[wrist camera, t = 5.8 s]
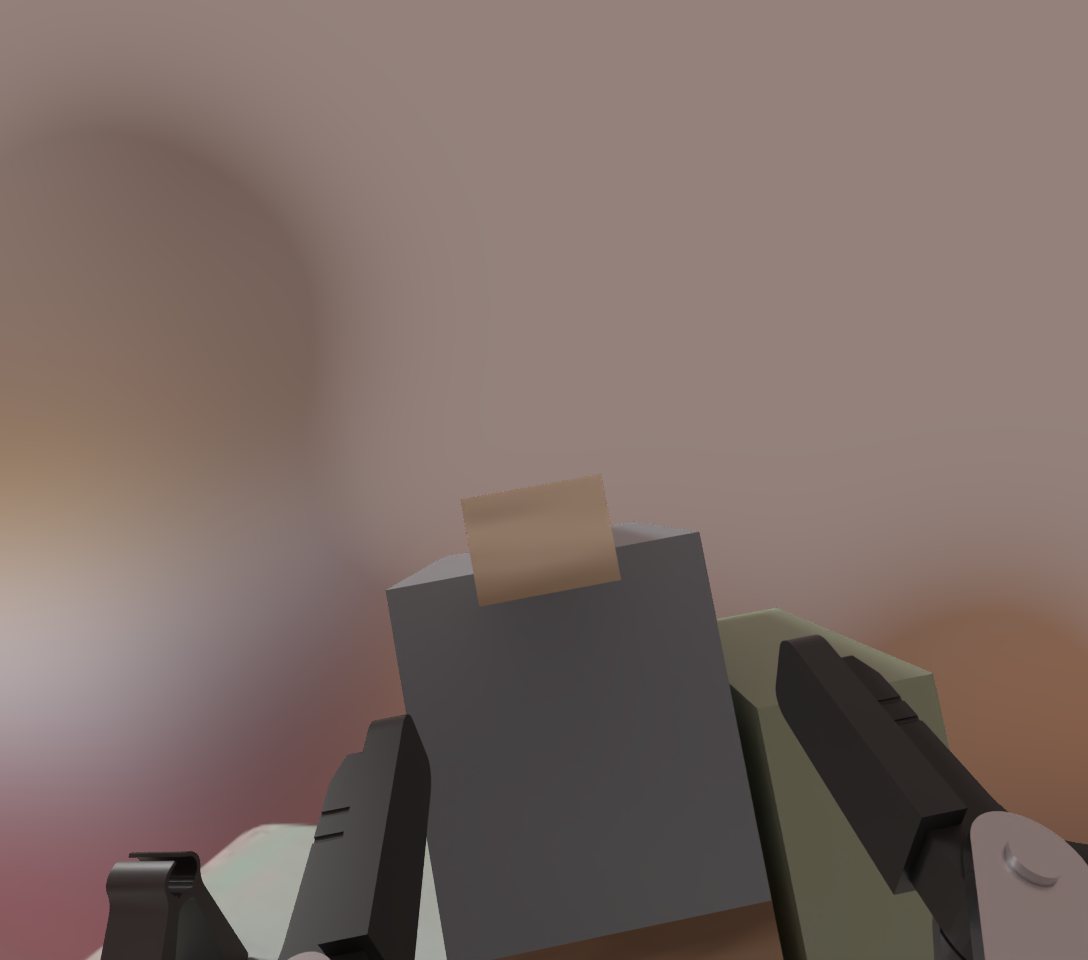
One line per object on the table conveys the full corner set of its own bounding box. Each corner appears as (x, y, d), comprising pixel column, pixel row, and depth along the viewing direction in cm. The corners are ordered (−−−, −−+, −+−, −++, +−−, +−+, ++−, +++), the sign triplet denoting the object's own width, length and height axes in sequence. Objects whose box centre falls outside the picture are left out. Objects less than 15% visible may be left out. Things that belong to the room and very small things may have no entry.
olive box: (1056, 1246, 21) (933, 673, 22) (873, 1290, 20) (757, 708, 22) (845, 947, 35) (776, 607, 36) (734, 971, 34) (668, 628, 35)
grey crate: (771, 900, 21) (699, 531, 22) (448, 968, 21) (385, 590, 21) (676, 743, 35) (634, 521, 36) (482, 781, 35) (443, 556, 35)
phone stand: (194, 955, 45) (175, 821, 45) (249, 958, 43) (228, 819, 44) (80, 1071, 36) (58, 902, 36) (144, 1079, 34) (120, 903, 35)
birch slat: (621, 579, 14) (601, 473, 14) (479, 606, 14) (460, 499, 14) (569, 535, 34) (561, 492, 34) (511, 546, 34) (503, 502, 34)
